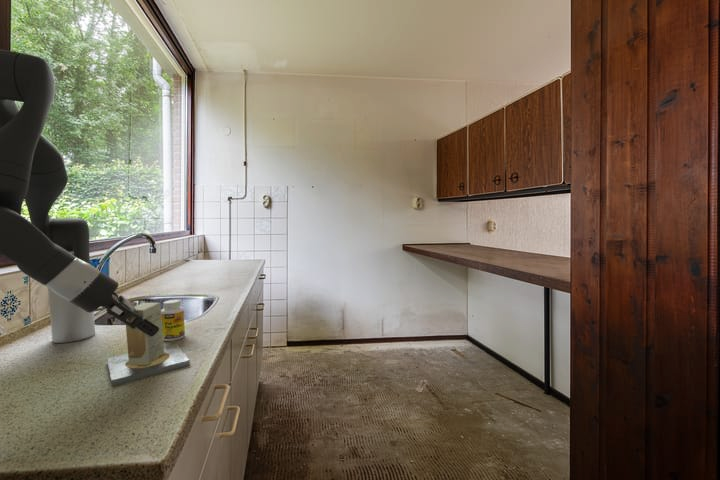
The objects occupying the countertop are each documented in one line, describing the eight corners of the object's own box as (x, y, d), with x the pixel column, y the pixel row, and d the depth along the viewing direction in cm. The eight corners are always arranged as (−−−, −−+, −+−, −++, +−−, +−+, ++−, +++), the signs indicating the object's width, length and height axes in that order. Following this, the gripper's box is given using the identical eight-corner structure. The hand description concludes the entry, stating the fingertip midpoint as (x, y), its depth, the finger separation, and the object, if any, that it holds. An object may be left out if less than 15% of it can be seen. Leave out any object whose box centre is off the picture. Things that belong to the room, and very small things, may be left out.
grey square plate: (107, 363, 77) (107, 357, 77) (176, 347, 86) (175, 342, 86) (111, 386, 66) (111, 380, 66) (189, 365, 75) (189, 359, 75)
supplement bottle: (162, 343, 89) (160, 305, 88) (161, 337, 94) (159, 300, 93) (186, 338, 92) (184, 301, 91) (183, 333, 97) (181, 297, 96)
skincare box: (147, 353, 79) (143, 301, 78) (165, 353, 79) (162, 301, 78) (127, 365, 73) (123, 309, 72) (146, 365, 73) (143, 309, 72)
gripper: (100, 274, 64) (172, 320, 72) (97, 266, 75) (159, 307, 83) (66, 307, 61) (144, 351, 69) (68, 294, 72) (135, 334, 80)
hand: (152, 327), depth 76 cm, fingers open, 8 cm apart
